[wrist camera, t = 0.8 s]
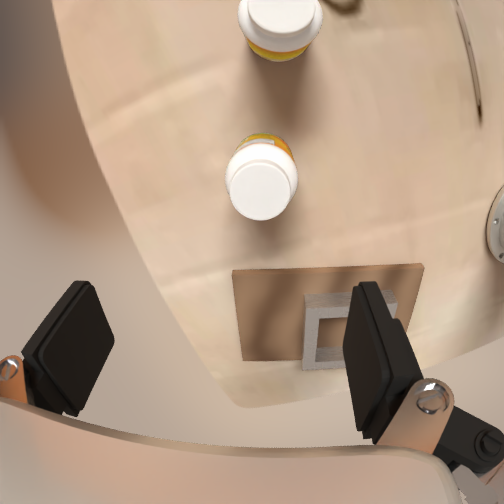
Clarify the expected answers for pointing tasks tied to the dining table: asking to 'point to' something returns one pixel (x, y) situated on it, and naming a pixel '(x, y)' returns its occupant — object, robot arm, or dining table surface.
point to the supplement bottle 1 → (279, 26)
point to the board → (292, 304)
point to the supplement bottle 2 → (261, 177)
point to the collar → (328, 308)
